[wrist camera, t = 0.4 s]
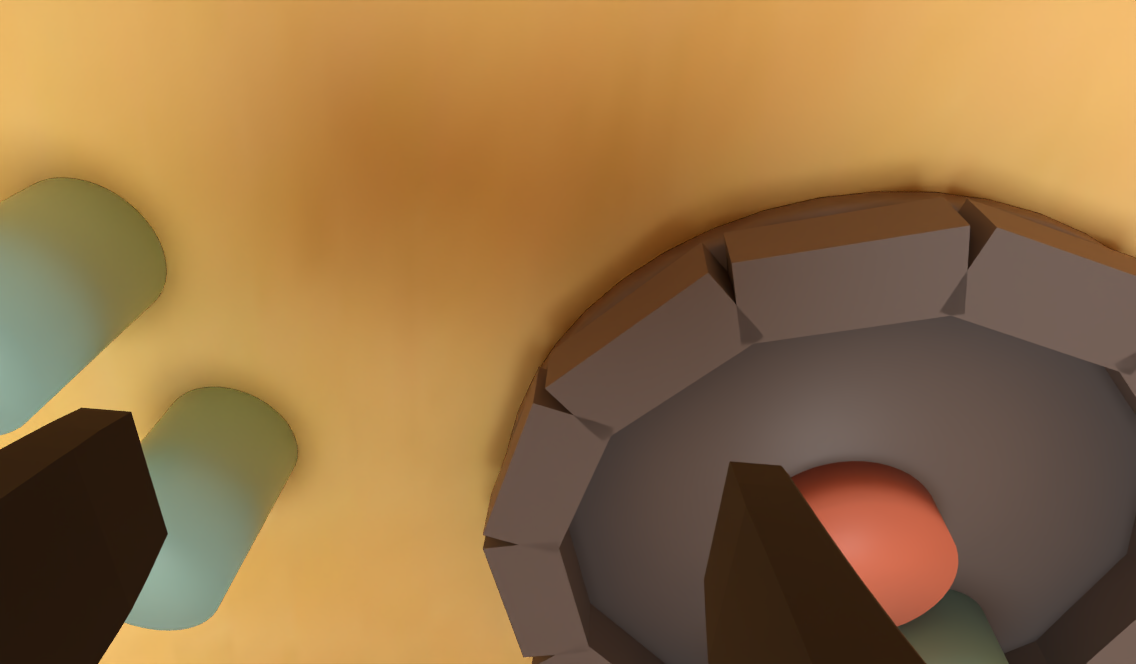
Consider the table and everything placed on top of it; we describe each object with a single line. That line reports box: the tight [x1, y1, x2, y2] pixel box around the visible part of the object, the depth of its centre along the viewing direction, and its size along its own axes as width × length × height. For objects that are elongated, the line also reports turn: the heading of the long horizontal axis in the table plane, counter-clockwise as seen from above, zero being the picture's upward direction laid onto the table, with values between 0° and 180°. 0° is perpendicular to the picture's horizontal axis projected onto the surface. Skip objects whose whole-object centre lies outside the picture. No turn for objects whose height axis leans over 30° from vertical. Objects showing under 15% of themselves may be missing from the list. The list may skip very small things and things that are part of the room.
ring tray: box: [483, 192, 1136, 664], centre depth 21 cm, size 19×19×2 cm
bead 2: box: [125, 387, 298, 630], centre depth 20 cm, size 4×4×5 cm
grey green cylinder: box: [0, 178, 167, 435], centre depth 17 cm, size 4×4×5 cm
